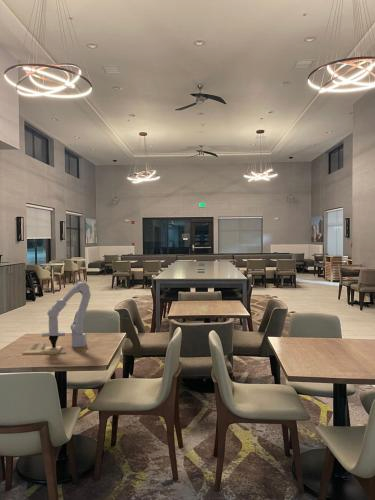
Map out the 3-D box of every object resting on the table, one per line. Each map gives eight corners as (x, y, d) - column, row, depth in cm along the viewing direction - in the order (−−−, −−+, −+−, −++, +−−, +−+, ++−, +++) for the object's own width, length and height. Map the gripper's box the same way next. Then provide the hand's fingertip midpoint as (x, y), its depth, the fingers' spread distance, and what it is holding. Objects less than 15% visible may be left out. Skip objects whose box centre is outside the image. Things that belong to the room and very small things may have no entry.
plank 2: (62, 347, 270) (62, 346, 270) (59, 350, 264) (59, 348, 264) (47, 348, 270) (47, 346, 270) (44, 351, 264) (44, 349, 264)
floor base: (63, 348, 271) (63, 346, 271) (57, 354, 257) (57, 352, 257) (30, 349, 271) (30, 346, 271) (22, 355, 256) (22, 353, 256)
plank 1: (45, 344, 269) (45, 343, 268) (42, 351, 264) (42, 349, 263) (30, 345, 269) (29, 343, 268) (27, 351, 264) (27, 350, 263)
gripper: (66, 325, 272) (66, 345, 272) (44, 325, 271) (44, 345, 272) (63, 327, 265) (63, 348, 265) (40, 328, 264) (41, 348, 265)
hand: (54, 347), depth 268 cm, fingers closed, pressing on plank 2
